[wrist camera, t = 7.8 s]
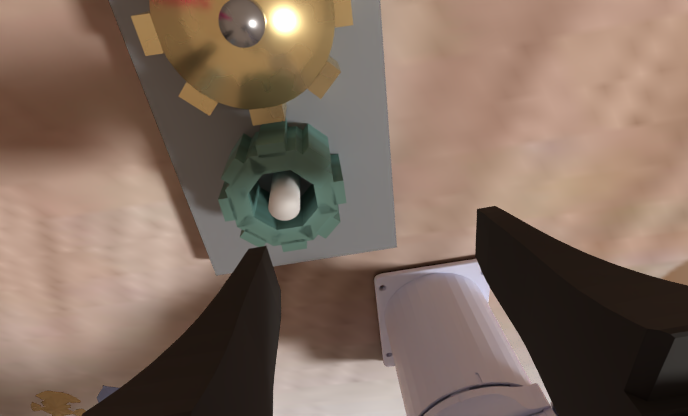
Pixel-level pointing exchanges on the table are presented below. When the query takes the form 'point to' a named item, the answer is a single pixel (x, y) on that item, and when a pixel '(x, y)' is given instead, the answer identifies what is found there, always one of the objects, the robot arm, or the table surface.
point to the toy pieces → (65, 402)
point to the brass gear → (246, 50)
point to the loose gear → (275, 156)
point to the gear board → (323, 114)
